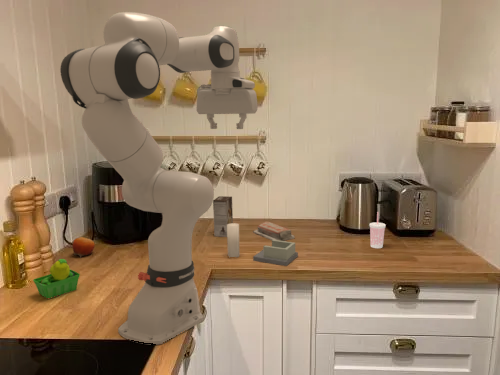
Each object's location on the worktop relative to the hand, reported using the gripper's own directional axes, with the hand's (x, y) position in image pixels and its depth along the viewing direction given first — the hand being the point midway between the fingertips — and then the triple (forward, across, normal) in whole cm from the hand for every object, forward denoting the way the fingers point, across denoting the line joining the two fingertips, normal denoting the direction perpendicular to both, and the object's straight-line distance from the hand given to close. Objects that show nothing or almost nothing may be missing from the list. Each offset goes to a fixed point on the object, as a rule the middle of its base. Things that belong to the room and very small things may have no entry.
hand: (226, 128), depth 132 cm
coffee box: (+48, -26, +39) cm, 67 cm away
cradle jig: (+48, +8, +20) cm, 53 cm away
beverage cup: (+48, +38, +49) cm, 79 cm away
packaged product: (+49, -5, +46) cm, 67 cm away
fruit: (+48, -61, -7) cm, 78 cm away
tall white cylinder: (+48, -8, +16) cm, 51 cm away
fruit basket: (+48, -40, -35) cm, 72 cm away
